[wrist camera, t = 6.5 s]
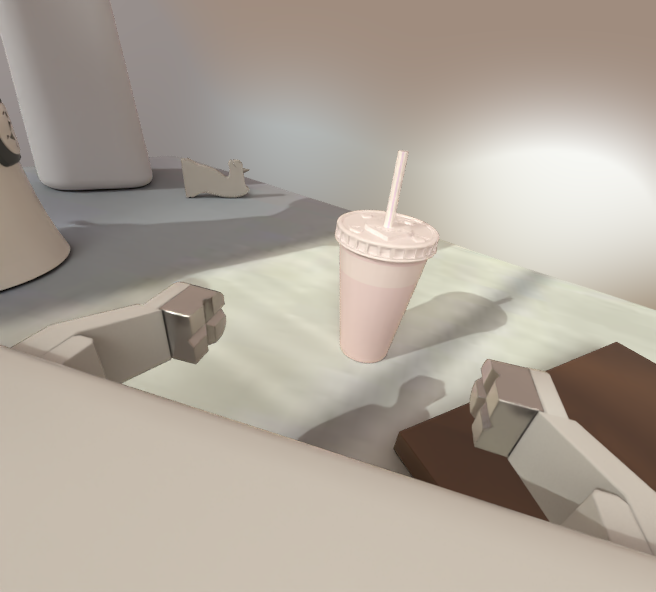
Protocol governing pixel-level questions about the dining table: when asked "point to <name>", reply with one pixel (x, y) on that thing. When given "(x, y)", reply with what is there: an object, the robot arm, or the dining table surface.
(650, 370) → the serving board
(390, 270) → the smoothie
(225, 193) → the duck shaped cutout
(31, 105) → the plastic bottle
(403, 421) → the dining table surface
